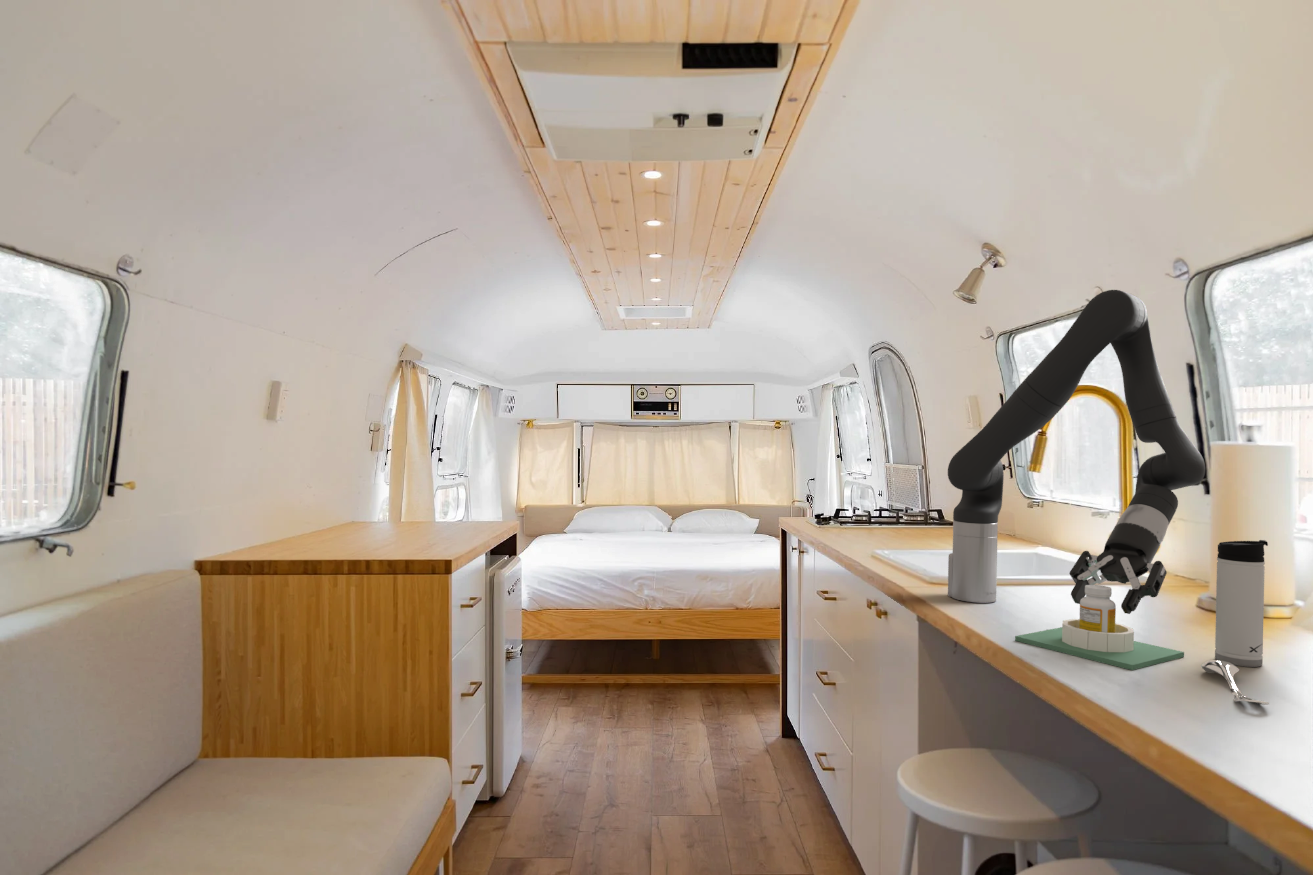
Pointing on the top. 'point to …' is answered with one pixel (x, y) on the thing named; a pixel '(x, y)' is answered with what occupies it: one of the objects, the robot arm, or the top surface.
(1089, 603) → the supplement bottle
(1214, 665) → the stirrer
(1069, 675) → the top surface
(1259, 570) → the travel mug
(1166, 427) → the robot arm
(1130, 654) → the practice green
